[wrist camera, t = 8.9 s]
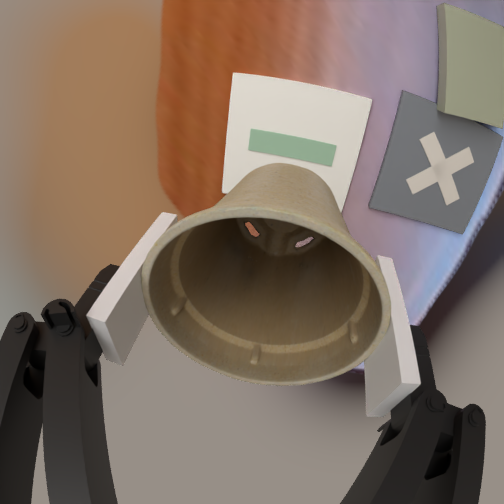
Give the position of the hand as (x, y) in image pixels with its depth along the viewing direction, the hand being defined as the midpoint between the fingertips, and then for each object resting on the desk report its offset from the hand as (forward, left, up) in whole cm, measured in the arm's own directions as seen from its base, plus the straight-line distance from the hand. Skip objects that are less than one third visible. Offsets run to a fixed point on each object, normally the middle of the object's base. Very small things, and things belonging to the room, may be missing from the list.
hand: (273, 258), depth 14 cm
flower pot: (0, 0, -5) cm, 5 cm away
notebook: (-14, +17, -20) cm, 30 cm away
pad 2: (-1, +17, -20) cm, 26 cm away
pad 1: (+1, 0, -20) cm, 20 cm away
